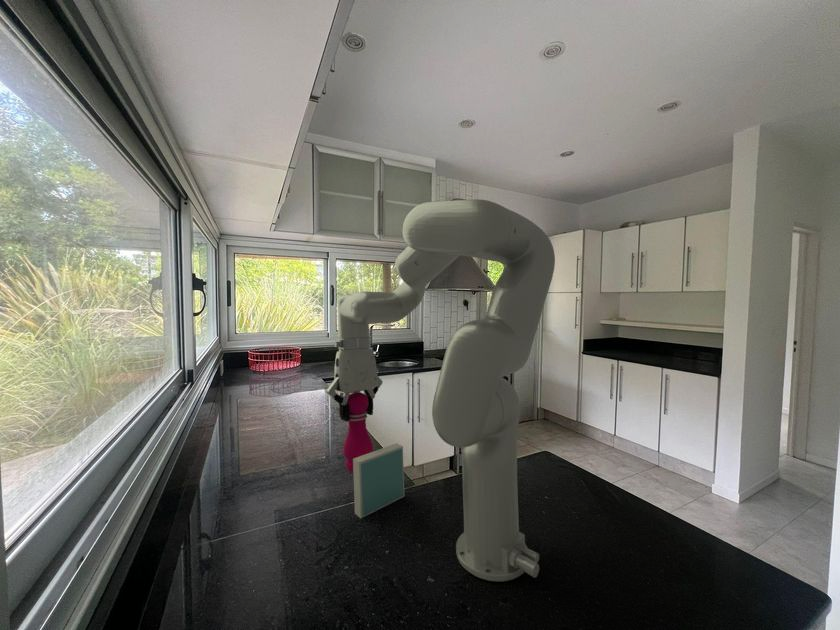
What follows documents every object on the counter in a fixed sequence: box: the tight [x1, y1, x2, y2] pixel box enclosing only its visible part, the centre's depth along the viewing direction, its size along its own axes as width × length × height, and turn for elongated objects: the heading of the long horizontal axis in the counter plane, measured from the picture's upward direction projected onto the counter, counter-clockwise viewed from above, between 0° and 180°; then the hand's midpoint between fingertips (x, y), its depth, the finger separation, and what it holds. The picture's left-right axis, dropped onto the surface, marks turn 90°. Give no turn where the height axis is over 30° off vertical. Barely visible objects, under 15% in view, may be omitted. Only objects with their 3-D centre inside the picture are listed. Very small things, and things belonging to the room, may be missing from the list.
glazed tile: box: [352, 443, 405, 519], centre depth 75 cm, size 3×12×12 cm, turn 132°
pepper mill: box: [342, 391, 374, 473], centre depth 82 cm, size 7×7×20 cm
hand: (357, 416), depth 82 cm, fingers closed on pepper mill, 6 cm apart
